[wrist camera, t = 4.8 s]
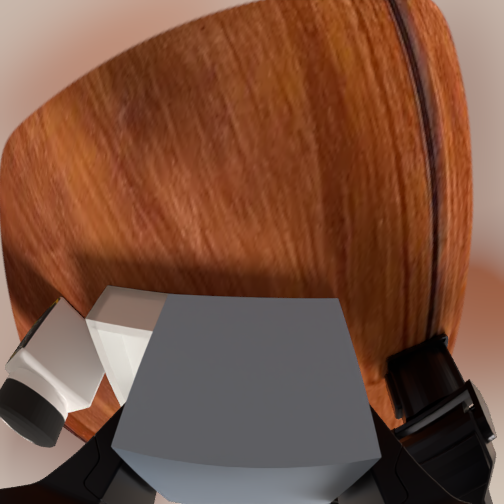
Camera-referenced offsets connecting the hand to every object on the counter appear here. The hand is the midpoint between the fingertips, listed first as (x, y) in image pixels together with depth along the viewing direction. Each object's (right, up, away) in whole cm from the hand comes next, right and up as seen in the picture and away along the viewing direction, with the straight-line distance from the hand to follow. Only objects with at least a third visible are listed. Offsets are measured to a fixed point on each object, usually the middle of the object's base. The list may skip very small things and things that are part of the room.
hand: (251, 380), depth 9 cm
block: (0, +1, +1) cm, 1 cm away
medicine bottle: (-17, -4, +15) cm, 23 cm away
